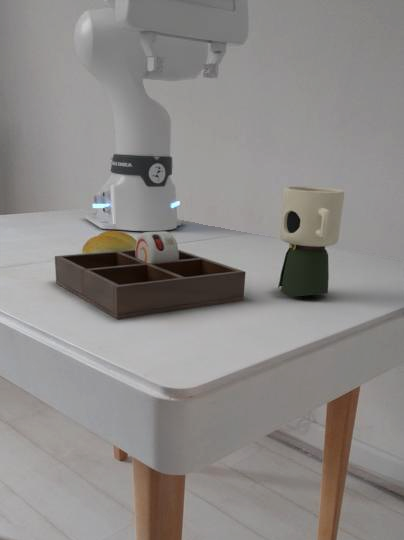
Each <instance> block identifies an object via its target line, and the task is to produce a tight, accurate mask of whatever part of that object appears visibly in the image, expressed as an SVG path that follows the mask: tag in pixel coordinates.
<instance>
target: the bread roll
mask: <svg viewBox="0 0 404 540" xmlns="http://www.w3.org/2000/svg"><path fill="white" fill-rule="evenodd" d="M136 242H137V239H136V238H135V237H133V235H130V234H129V233H127V232H124V231H120V230H119V231H118V230H106V231H103V232H101V233H99V234H98V235H96V236H92V237H90V238H89V239H87V241H86V242H85V243H84V244H83V247H82V251H81V254H87V253H100V252H112V251H124V250H135V248H136Z"/></svg>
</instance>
